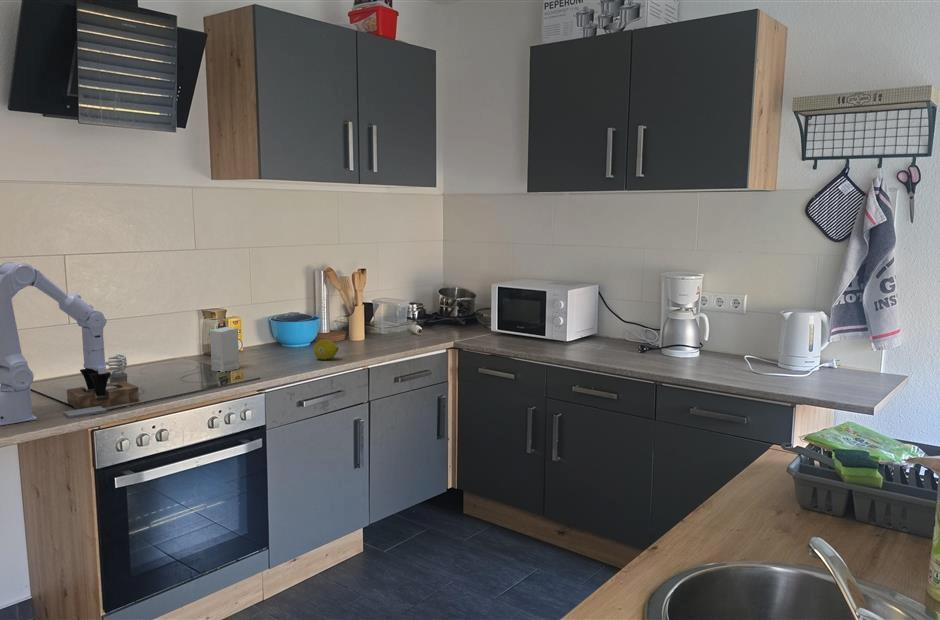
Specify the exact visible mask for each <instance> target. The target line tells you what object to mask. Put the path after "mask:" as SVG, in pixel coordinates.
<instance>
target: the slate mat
mask: <svg viewBox="0 0 940 620" xmlns="http://www.w3.org/2000/svg"><path fill="white" fill-rule="evenodd" d="M107 412H108V410H107V408H106V407H101V406H96V407H90V408H84V409H78V410H77V409H73V410H67V411H63V412H62V414H63V416H64V417H66V418H67V419H69V420H71V419H74V418H75V419H77V418H81V417H87V416H94V415H93V414H95V415H100V413H101V414H106V413H107Z"/></svg>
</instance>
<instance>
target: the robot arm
mask: <svg viewBox="0 0 940 620" xmlns="http://www.w3.org/2000/svg"><path fill="white" fill-rule="evenodd" d="M28 286H29V287H34V288H36V289H37V290H38V291H41V293H44V294H45V295H47V296H48V297H49V298H50V299H53V300H54V301H56V302H57V303H58V308H59V310H60V311H62V312H63V313H65V314H66V315H67V316H69V317H70V318H72V319H73V320H75V321H76V324H77V325H78V327H81V335H82V336H81V337H82V338H81V339H82V340H81V341H82V353H83V354H82V355H83V368H82V369H79V372H80V373H81V376H83V378H84V381H85V384H86V387H87V388H86V389H92V388H95V392H96V395H97V396H103V395H105V391H106V385H107V384H108V383H109V382H108V381H109V380H110V379H109V377H110V375H111V374H112V372H110V371H108V372H107V367H106V366H108V365H109V364H110V363H109V362H108V361H106V356H105V341H104V340H105V339H104V328H105V326H106V325H107V322H108V321H107V319H106V318H105V314H103V312H101V311H99V310H94V306H93V305H92V304H88V303H87V302H85V301H84V300H83V299H82V296H81V295H79V294H74V293H66V292H65V291H64V290H63V289H62V288H60V287H59V286H58V285H57V284H55V283H54V281H52V280H50V279H49V278H48V277H47V276H46V275H44V274H43V273H42V272H41V271H40V270H39V269H36V268H34V267H33V266H32V265H31V264H29V263H24V262H22V263H21V262H20V263H18V262H17V263H16V262H13V261H6V262H3V263H2V264H0V426H5V425H12V424H17V423H24V422H29V421H36V420H38V417H36V416H35V415H34V414H33V408H32V405H33V404H32V394H31V392H32V391H31V385H32V383H33V382H34V372H33V370H31V369H30V367H29V365H28V361H27V360H26V358H25V356H24V355H23V353H22V347H21V342H20V338H19V336H20V335H19V333H18V327H17V322H16V317H15V310H14V304H13V301H12V300H13V298H14V297H15V296H16V295H17V294H18V292H19V291H21V290H23V289H25V288H27V287H28Z"/></svg>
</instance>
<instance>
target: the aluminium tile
mask: <svg viewBox="0 0 940 620" xmlns="http://www.w3.org/2000/svg"><path fill="white" fill-rule="evenodd" d="M115 388H117V387H115V386H106V390H108V389H115ZM85 392H86V393H88V392H93V393H95V395H96V392H95V388H92V389H88V388H86V390H85ZM104 397H106V393H105V395H103V396H97V395H96V399H97V398H104Z"/></svg>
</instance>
